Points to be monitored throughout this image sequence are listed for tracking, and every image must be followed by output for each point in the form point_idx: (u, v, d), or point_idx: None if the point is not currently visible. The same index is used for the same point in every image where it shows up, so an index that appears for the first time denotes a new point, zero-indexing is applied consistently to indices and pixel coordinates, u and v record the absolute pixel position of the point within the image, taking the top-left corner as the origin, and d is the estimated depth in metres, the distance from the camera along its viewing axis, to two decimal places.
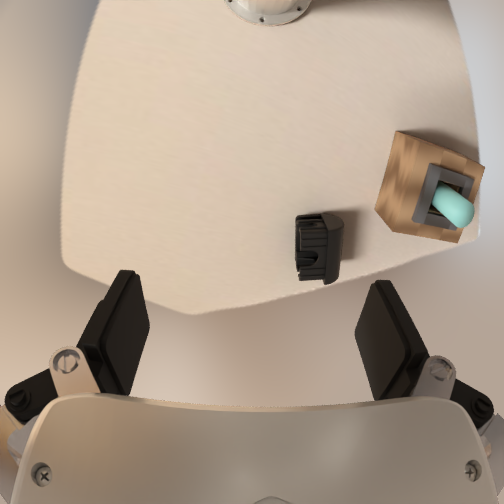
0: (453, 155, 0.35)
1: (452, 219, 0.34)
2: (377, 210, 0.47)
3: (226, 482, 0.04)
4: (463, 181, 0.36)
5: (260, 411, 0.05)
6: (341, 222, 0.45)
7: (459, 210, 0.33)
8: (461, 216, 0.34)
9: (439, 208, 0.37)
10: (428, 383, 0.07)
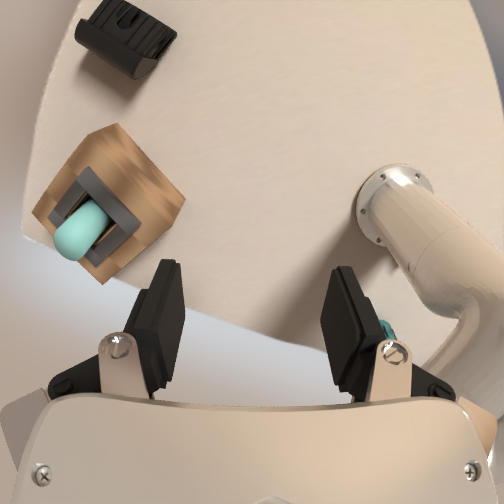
0: (133, 255, 0.35)
1: (69, 226, 0.26)
2: (115, 126, 0.33)
3: (226, 482, 0.04)
4: (100, 253, 0.33)
5: (260, 411, 0.05)
6: (136, 77, 0.27)
7: (76, 241, 0.27)
8: (68, 239, 0.27)
9: (85, 210, 0.29)
10: (385, 370, 0.08)
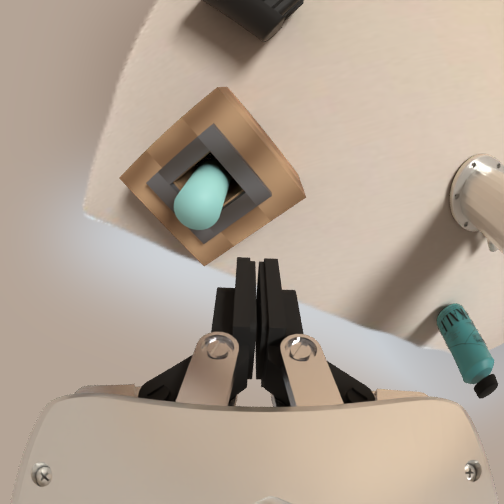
0: (253, 230, 0.33)
1: (202, 186, 0.24)
2: (228, 89, 0.31)
3: (226, 482, 0.04)
4: (214, 227, 0.31)
5: (260, 411, 0.05)
6: (266, 38, 0.25)
7: (209, 204, 0.25)
8: (197, 203, 0.25)
9: (209, 172, 0.27)
10: (299, 370, 0.08)
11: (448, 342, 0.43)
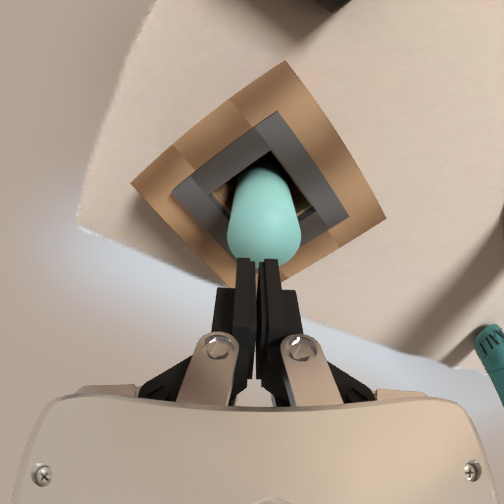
0: (316, 258, 0.24)
1: (276, 204, 0.16)
2: None
3: (226, 482, 0.04)
4: None
5: (260, 411, 0.05)
6: (340, 8, 0.17)
7: (285, 233, 0.16)
8: (266, 230, 0.16)
9: (272, 181, 0.19)
10: (299, 370, 0.08)
11: (487, 366, 0.35)
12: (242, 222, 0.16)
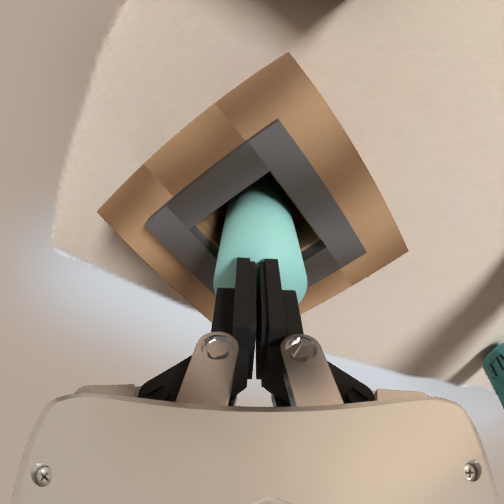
0: (324, 298, 0.20)
1: (276, 245, 0.12)
2: None
3: (226, 482, 0.04)
4: None
5: (260, 411, 0.05)
6: None
7: (287, 280, 0.13)
8: None
9: (270, 207, 0.15)
10: (299, 370, 0.08)
11: (497, 387, 0.31)
12: (232, 268, 0.12)
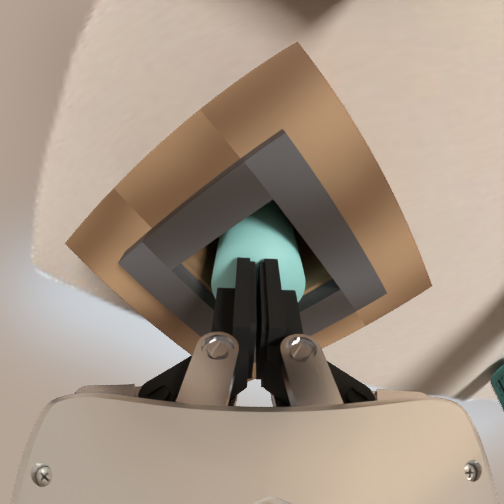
0: (333, 340, 0.17)
1: (274, 245, 0.12)
2: None
3: (226, 482, 0.04)
4: None
5: (260, 411, 0.05)
6: None
7: (285, 280, 0.13)
8: None
9: (268, 207, 0.15)
10: (299, 370, 0.08)
11: None
12: (230, 268, 0.12)
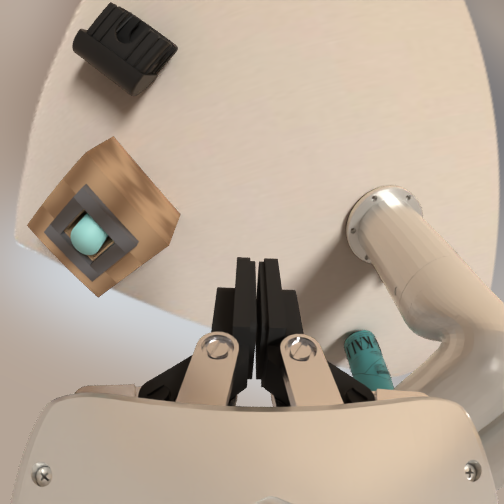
0: (130, 271, 0.35)
1: (87, 224, 0.30)
2: (111, 140, 0.33)
3: (226, 482, 0.04)
4: (96, 268, 0.33)
5: (260, 411, 0.05)
6: (135, 93, 0.27)
7: (92, 237, 0.31)
8: (85, 236, 0.31)
9: None
10: (299, 370, 0.08)
11: (351, 369, 0.49)
12: (75, 233, 0.30)
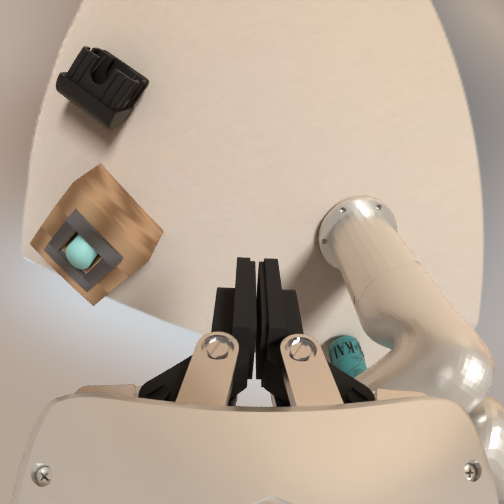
0: (118, 283, 0.39)
1: (78, 243, 0.35)
2: (98, 167, 0.37)
3: (226, 482, 0.04)
4: (89, 281, 0.38)
5: (260, 411, 0.05)
6: (112, 127, 0.32)
7: (83, 254, 0.35)
8: (77, 253, 0.35)
9: None
10: (299, 370, 0.08)
11: None
12: (69, 250, 0.35)
